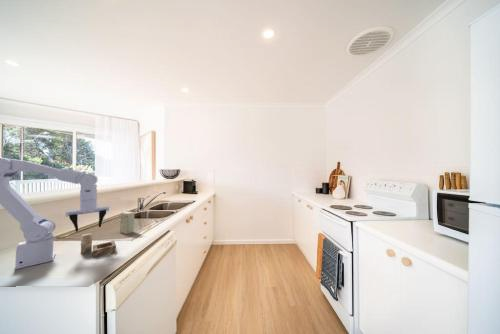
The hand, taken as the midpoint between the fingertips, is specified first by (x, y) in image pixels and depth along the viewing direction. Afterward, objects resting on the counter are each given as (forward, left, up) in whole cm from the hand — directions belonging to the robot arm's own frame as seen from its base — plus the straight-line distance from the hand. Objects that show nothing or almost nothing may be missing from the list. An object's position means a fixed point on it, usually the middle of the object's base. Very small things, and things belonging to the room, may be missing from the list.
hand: (88, 228), depth 79 cm
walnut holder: (+5, -6, -10) cm, 13 cm away
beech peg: (-1, -1, -10) cm, 10 cm away
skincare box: (+17, +18, -11) cm, 27 cm away
